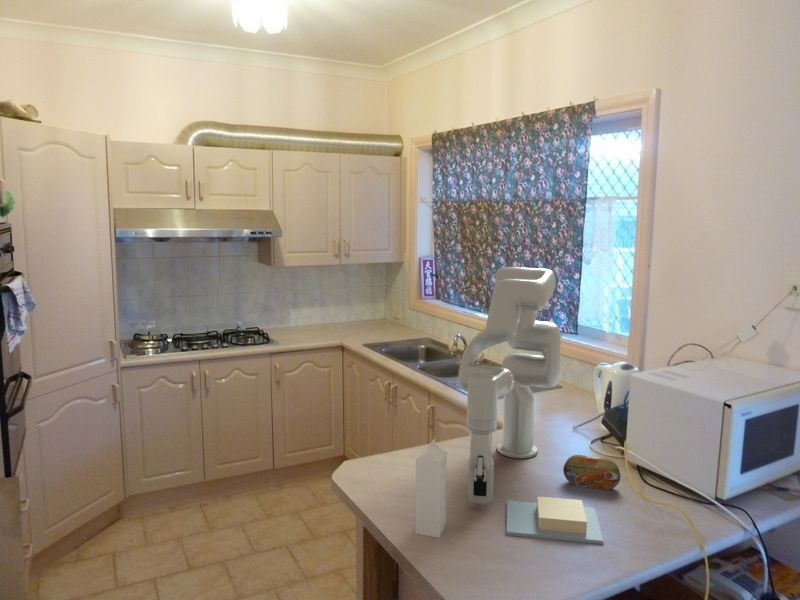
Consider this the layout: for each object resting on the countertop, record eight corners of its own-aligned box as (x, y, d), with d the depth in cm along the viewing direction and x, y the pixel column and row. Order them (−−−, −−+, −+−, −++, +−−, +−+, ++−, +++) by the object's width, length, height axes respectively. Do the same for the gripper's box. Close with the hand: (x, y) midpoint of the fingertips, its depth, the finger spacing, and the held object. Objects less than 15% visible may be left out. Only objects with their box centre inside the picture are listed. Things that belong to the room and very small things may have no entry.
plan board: (507, 503, 162) (507, 489, 162) (594, 510, 158) (594, 496, 158) (506, 534, 147) (507, 519, 146) (603, 544, 143) (604, 528, 142)
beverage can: (476, 491, 164) (477, 448, 162) (497, 499, 160) (498, 455, 158) (463, 500, 159) (463, 457, 157) (484, 508, 155) (485, 463, 153)
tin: (562, 483, 174) (564, 455, 173) (563, 479, 177) (565, 451, 175) (619, 492, 169) (621, 463, 167) (619, 487, 172) (621, 458, 170)
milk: (415, 534, 147) (415, 445, 143) (422, 521, 152) (422, 436, 149) (440, 538, 145) (440, 448, 142) (446, 525, 151) (447, 439, 147)
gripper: (469, 410, 165) (468, 472, 168) (464, 434, 148) (463, 504, 152) (497, 411, 164) (496, 474, 167) (496, 436, 147) (494, 506, 150)
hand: (480, 488), depth 159 cm, fingers closed on beverage can, 6 cm apart
